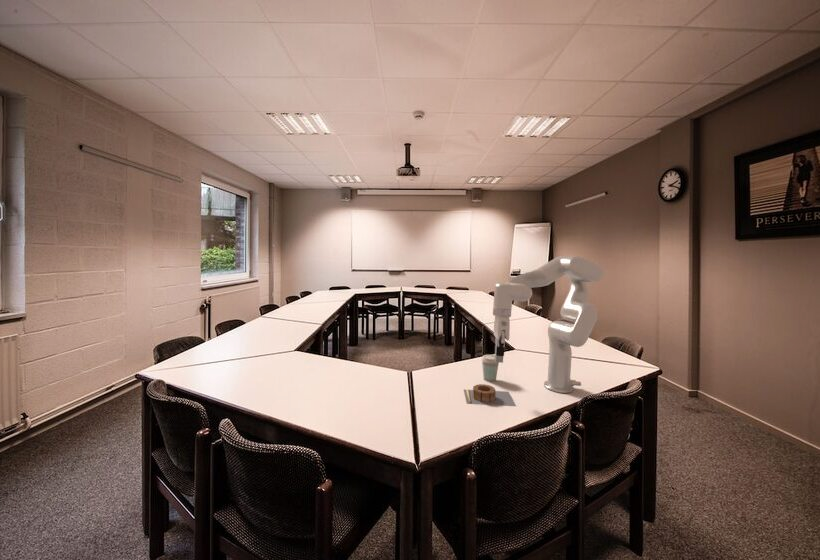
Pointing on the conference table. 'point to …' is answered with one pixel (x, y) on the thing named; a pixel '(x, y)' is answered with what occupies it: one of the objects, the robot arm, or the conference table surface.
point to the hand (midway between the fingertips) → (499, 354)
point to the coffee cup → (489, 368)
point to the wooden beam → (497, 358)
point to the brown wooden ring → (484, 393)
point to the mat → (500, 399)
